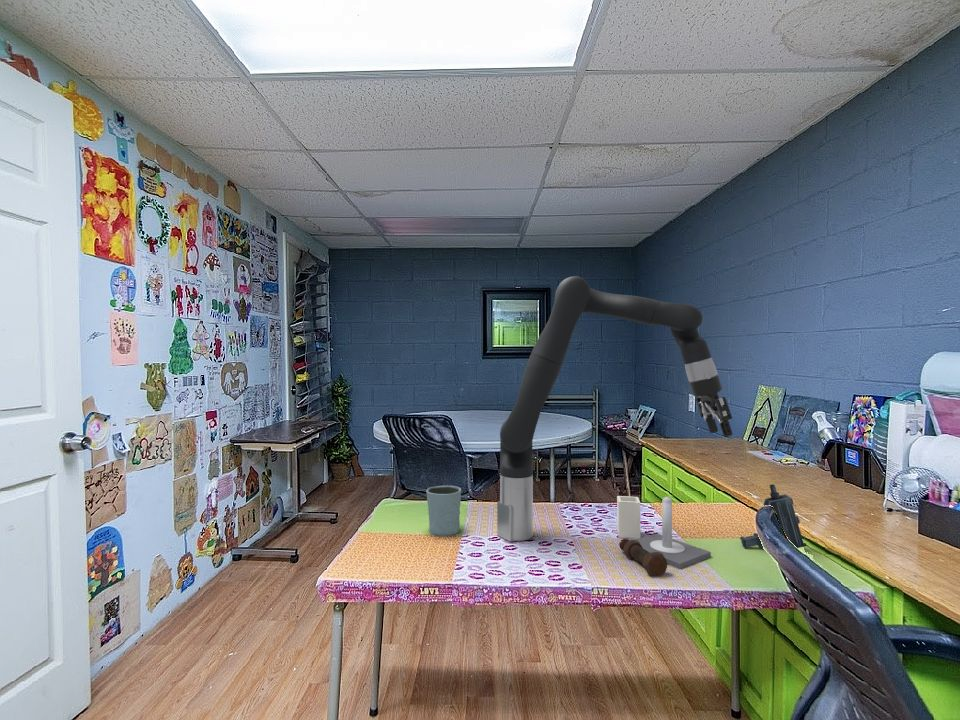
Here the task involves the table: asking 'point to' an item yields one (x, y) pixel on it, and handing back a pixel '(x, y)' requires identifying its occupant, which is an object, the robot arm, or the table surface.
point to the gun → (780, 520)
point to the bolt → (644, 557)
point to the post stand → (672, 542)
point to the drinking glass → (444, 509)
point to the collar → (628, 517)
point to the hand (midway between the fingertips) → (720, 434)
